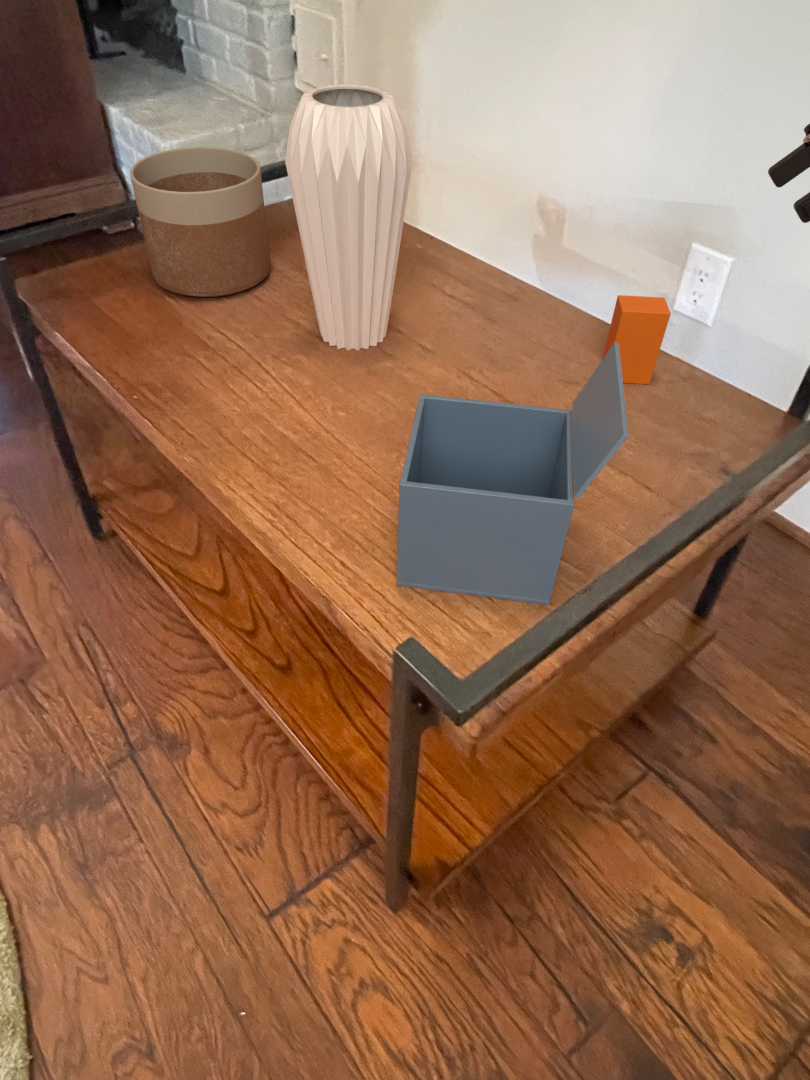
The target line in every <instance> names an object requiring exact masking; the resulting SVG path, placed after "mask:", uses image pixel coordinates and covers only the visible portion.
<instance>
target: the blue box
mask: <svg viewBox="0 0 810 1080" xmlns="http://www.w3.org/2000/svg"><path fill="white" fill-rule="evenodd" d="M574 509H575V495H574V448H573V409H566V408H565V409H564V408H556V407H546V406H537V405H529V404H518V403H510V402H499V401H490V400H479V399H472V398H462V397H454V396H453V397H452V396H444V395H434V394H423V393H420V394H419V397H418V402H417V405H416V409H415V415H414V419H413V423H412V428H411V432H410V436H409V441H408V445H407V449H406V454H405V457H404V463H403V466H402V471H401V476H400V480H399V485H398V518H397V520H398V521H397V524H398V525H397V549H396V550H397V552H396V553H397V555H396V583H395V584H396V586H397V587H403V588H404V587H405V588H411V589H420V590H428V591H435V592H444V593H450V594H457V595H458V594H459V595H467V596H474V597H483V598H491V599H497V600H506V601H515V602H521V603H528V604H529V603H530V604H538V605H543V606H545V605H546V606H549V605H550V603H551V599H552V594H553V590H554V586H555V583H556V579H557V575H558V570H559V567H560V564H561V560H562V555H563V552H564V548H565V544H566V540H567V535H568V531H569V528H570V524H571V521H572V515H573V513H574Z"/></svg>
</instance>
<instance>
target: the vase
mask: <svg viewBox="0 0 810 1080" xmlns="http://www.w3.org/2000/svg"><path fill="white" fill-rule="evenodd" d="M412 157H413V155H412V150H411V145H410V139H409V134H408V129H407V125H406V123H405V121H404V119H403V116H402V114H401V112H400V109H399V108H398V105H397V104H396V101H395V98H394V97H393V95H392V94H390V93H389V92H388V90H384V89H383V90H382V89H381V88H380V87H372V86H371V87H370V86H369V85H368V84H363V85H359V84H357V83H351V84H346V83H339V84H331V83H330V84H327V86H324V85H322V86H321V85H317V87H316V88H309V89H308V90H307V92H303V94H302V95H301V98H300V101H299V103H298V105H297V107H296V110H295V112H294V115H293V116H292V119H291V121H290V125H289V130H288V137H287V145H286V152H285V159H284V162H285V167H286V172H287V177H288V182H289V187H290V192H291V198H292V202H293V208H294V212H295V217H296V221H297V227H298V230H299V232H298V233H299V238H300V241H301V247H302V251H303V256H304V257H303V258H304V261H305V262H304V263H305V266H306V271H307V276H308V280H309V286H310V290H311V295H312V300H313V305H314V311H315V315H316V320H317V324H318V329H319V333H320V337H322V339H323V342H324V343H328V346H329V347H334V346H336V348H337V350H341V349H345V350H346V352H349V351H351V350H355V351H356V352H359V351H361V349H364V350H369V349H370V347H377V346H378V343H384V338H386V337H387V331H388V326H389V319H390V314H391V313H390V312H391V307H392V300H393V293H394V288H395V287H394V286H395V280H396V274H397V269H398V268H397V267H398V262H399V261H398V260H399V254H400V249H401V248H400V247H401V241H402V236H403V229H404V221H405V217H406V208H407V202H408V195H409V189H410V183H411V177H412V176H411V175H412V170H413V169H412V168H413V159H412Z"/></svg>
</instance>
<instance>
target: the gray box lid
mask: <svg viewBox="0 0 810 1080" xmlns="http://www.w3.org/2000/svg"><path fill="white" fill-rule="evenodd" d="M602 358H603V357H602ZM624 388H625V387H624V383H623V378H622V369H621V359H620V350H619V344H618V343H614V344H613V345H612V347H611V348H610V350H609V351H608V353H607V354H606V355H605V357H604V358H603V360H602V359H601V361H600V363H599V364H598V365H597V367H596V368H595V369H594V371H593V372H592V374H591V375H590V376H589V378H588V380H587V381H586V383H585V384H584V385H583V387H582V388H581V389H580V391H579V393H578V394H577V396H576V397H575V398H574V400H572V401H573V402H572V412H573V460H574V498H577V499H580V498H581V497H582V495H583V494H584V493H585V492H586V491H587V489H588V488H589V487H590V486H591V484H592V483H593V482H594V481H595V480H596V478H597V477H598V476H599V474H600V473H601V472H602V470H603V469H604V468H605V467H606V465H608V463H609V462H610V461H611V460H612V458H613V457H614V456H615V454H616V453H617V452H618V451H619V449H620V448H621V447H622V446H623V444H624V443H625V442H626V441H627V439H628V438H629V427H628V418H627V417H628V416H627V407H626V398H625V389H624Z"/></svg>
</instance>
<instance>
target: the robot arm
mask: <svg viewBox="0 0 810 1080" xmlns="http://www.w3.org/2000/svg"><path fill="white" fill-rule="evenodd" d="M803 132H804V134H805V136H804V138H803V140H802V142H803V143H802V144H801V145H799V146H798V147H796V148H794V149H793V150H792V151H791V152H790V153H788V154H787V155H785V156H784V157H782V158H781V159H780V160H778V161H777V162H775V163H774V164H773V165H772V166H770V167H769V168H768V170H767V174H768V176H769V178H770V180H771V181H772V183H773V185H774V186H775V187H776V188H782V187H784V186H785V185H786V184H788V183H789V182H791V181H792V180H794V179H795V178H797V177H798V176H799V175H801V174H802V173H804V172H805V171H807V170H808V169H809V168H810V123H808V124H807V125H806V126H805V127H804V128H803ZM793 209H794V211H795V213H796V215H797V217H798V219H799V220H800V221H801V223H804V224H808V223H810V191H809V192H808V193H806V194H805V195H803V196H801V197H800V198H799V199H798V200H796V201H795V202H794V203H793Z"/></svg>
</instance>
